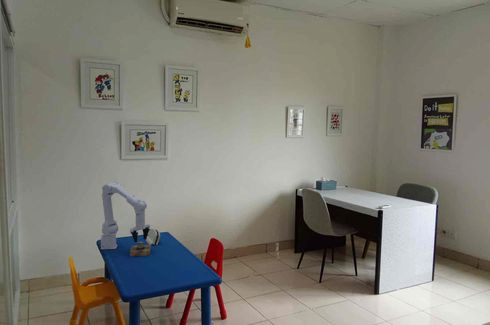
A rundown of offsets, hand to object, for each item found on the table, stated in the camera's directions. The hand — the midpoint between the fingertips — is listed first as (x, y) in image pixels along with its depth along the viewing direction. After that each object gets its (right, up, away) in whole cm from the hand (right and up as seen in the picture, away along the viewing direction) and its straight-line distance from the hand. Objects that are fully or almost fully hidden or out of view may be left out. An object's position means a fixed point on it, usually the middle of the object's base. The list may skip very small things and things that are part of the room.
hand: (140, 240), depth 245 cm
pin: (0, -8, +1) cm, 8 cm away
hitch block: (0, -8, +1) cm, 8 cm away
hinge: (+2, -6, +24) cm, 25 cm away
